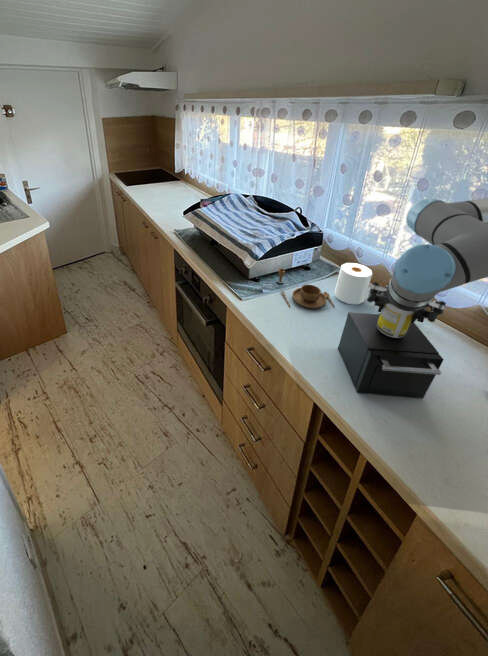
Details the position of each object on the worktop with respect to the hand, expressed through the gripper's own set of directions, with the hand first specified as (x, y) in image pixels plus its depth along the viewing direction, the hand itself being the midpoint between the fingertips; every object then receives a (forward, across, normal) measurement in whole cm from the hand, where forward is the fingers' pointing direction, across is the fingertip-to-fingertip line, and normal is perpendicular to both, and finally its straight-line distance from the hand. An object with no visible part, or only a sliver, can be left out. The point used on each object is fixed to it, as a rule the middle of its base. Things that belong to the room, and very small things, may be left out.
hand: (396, 312), depth 80 cm
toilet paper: (+33, +14, -8) cm, 37 cm away
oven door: (+4, -5, +21) cm, 22 cm away
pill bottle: (0, 0, +5) cm, 5 cm away
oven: (+10, 0, +15) cm, 18 cm away
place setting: (+27, +28, -2) cm, 39 cm away
